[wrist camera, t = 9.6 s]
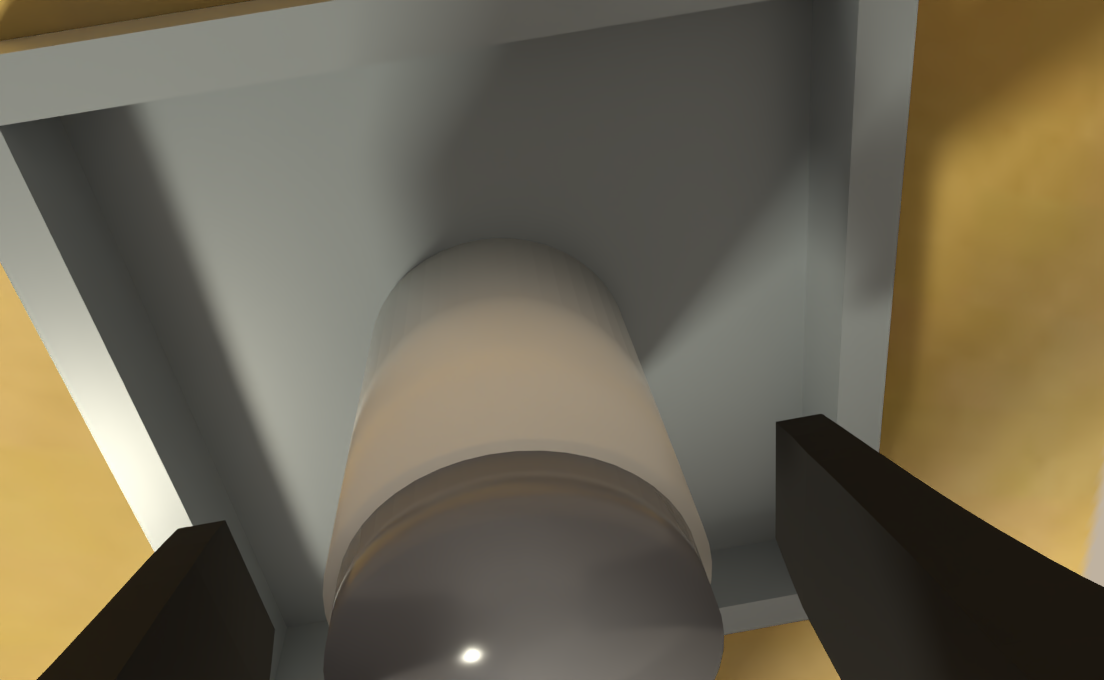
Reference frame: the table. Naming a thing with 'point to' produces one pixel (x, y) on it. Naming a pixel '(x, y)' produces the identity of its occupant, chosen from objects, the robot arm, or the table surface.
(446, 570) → the cylinder
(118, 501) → the table surface
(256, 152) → the tray
